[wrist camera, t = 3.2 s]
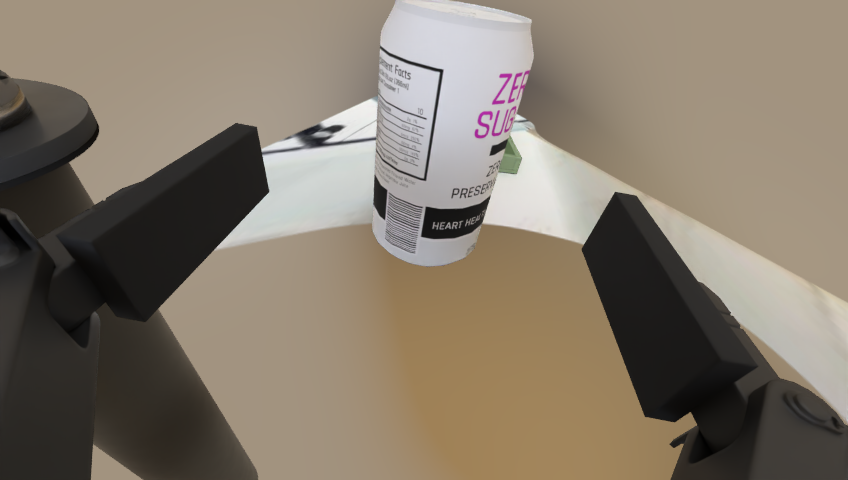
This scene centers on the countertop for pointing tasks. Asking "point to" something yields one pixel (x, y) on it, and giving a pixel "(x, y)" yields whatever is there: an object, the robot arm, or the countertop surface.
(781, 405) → the robot arm
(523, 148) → the countertop surface
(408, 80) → the supplement can
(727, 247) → the countertop surface
